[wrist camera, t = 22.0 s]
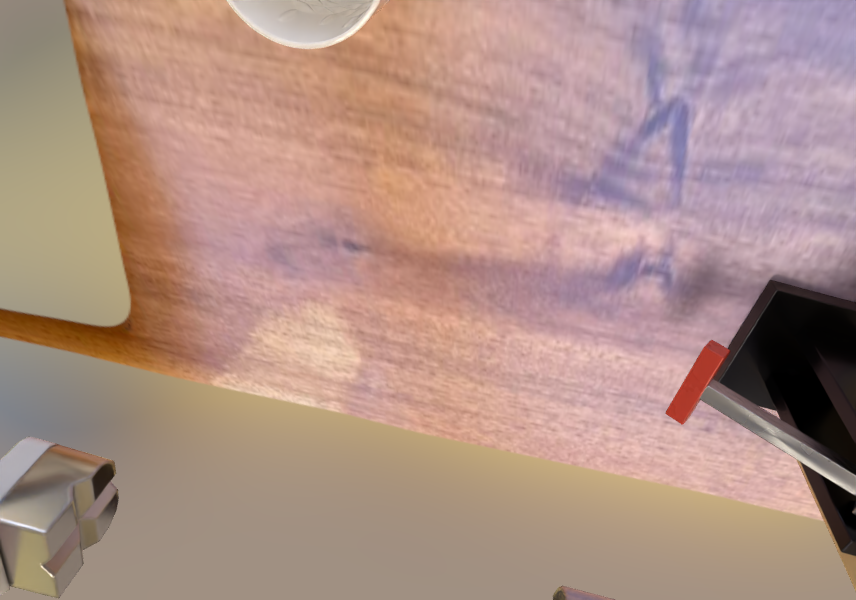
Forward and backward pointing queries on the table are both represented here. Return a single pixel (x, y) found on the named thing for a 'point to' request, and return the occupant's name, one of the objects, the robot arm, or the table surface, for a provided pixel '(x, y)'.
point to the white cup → (306, 19)
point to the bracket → (804, 380)
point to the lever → (756, 419)
